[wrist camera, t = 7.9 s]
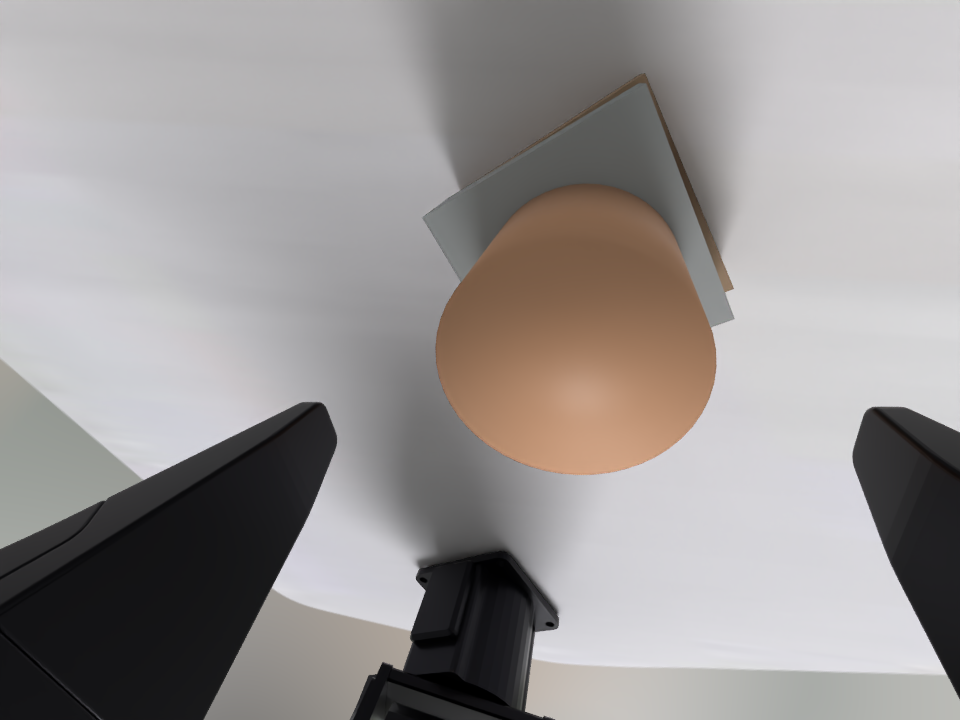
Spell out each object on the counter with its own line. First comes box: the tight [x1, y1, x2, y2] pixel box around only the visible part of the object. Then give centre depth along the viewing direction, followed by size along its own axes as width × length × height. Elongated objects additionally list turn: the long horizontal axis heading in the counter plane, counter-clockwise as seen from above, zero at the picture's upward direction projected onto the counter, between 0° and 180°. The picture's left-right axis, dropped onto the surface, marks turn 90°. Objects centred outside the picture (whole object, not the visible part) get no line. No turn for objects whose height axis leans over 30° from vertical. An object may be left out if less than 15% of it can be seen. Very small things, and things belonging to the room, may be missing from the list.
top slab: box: [422, 83, 734, 327], centre depth 13 cm, size 6×6×2 cm
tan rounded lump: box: [436, 184, 716, 475], centre depth 10 cm, size 5×5×4 cm
